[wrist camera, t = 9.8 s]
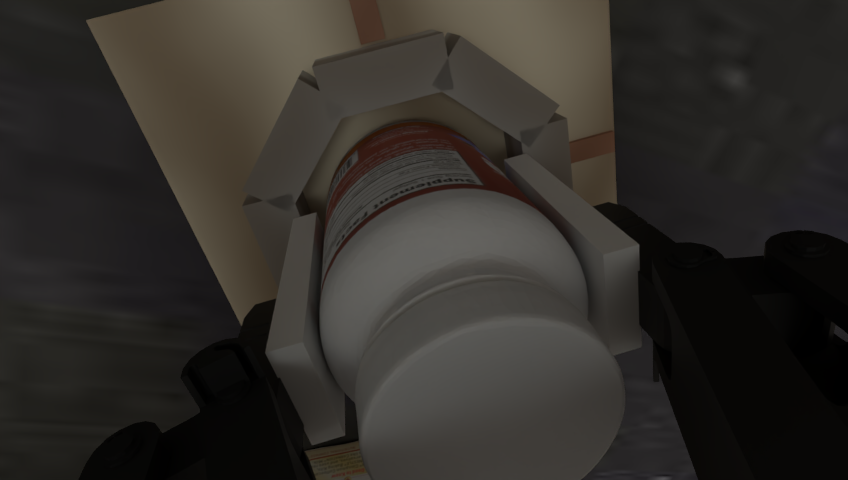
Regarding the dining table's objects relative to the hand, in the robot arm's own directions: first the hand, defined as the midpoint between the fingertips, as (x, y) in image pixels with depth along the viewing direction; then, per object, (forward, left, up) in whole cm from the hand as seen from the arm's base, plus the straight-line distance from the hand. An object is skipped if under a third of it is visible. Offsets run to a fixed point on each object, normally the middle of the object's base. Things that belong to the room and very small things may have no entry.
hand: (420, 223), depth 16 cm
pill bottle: (0, 0, -3) cm, 3 cm away
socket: (0, 0, -4) cm, 4 cm away
